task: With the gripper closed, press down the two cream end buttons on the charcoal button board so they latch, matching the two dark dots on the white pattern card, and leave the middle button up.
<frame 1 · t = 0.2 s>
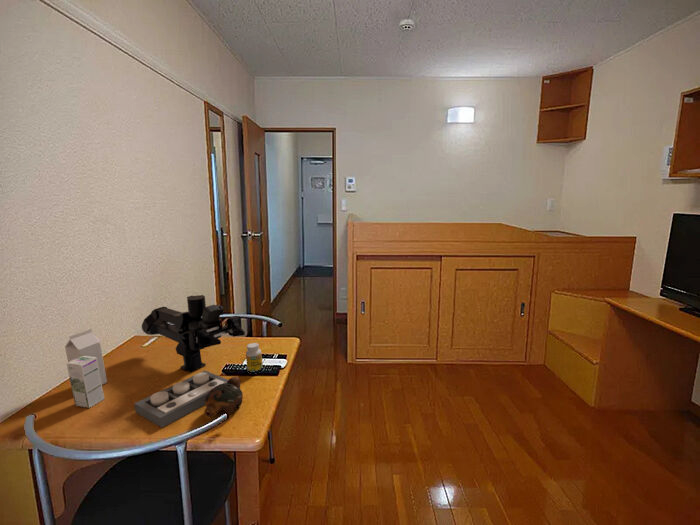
hand: (232, 337, 128), 17 cm above the table, tool horizontal, fingers open, 9 cm apart
decorative turtle: (225, 411, 118), on the table
board: (186, 400, 124), on the table
button a: (159, 398, 119), point 4 cm above the table, slide at 0.0 cm
supplement bottle: (255, 371, 142), on the table
syrup box: (90, 403, 125), on the table
milk carton: (90, 386, 135), on the table
button b: (181, 388, 124), point 3 cm above the table, slide at 0.0 cm
button c: (201, 379, 130), point 4 cm above the table, slide at 0.0 cm
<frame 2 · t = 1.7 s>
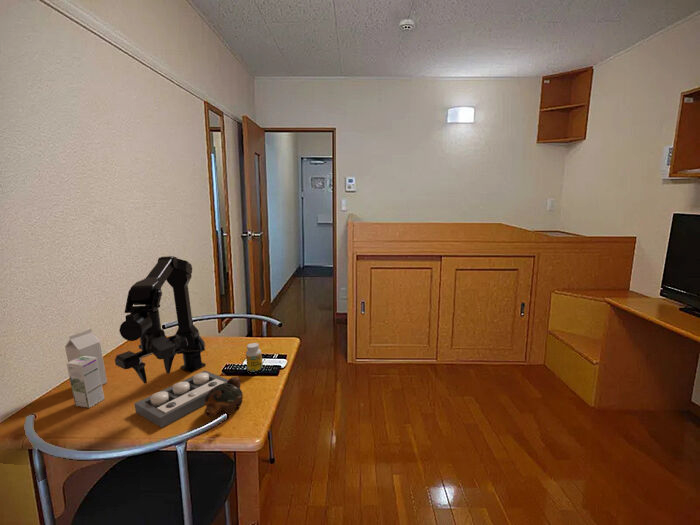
hand: (156, 378, 117), 10 cm above the table, tool pointing down, fingers open, 7 cm apart
nothing on the table moved.
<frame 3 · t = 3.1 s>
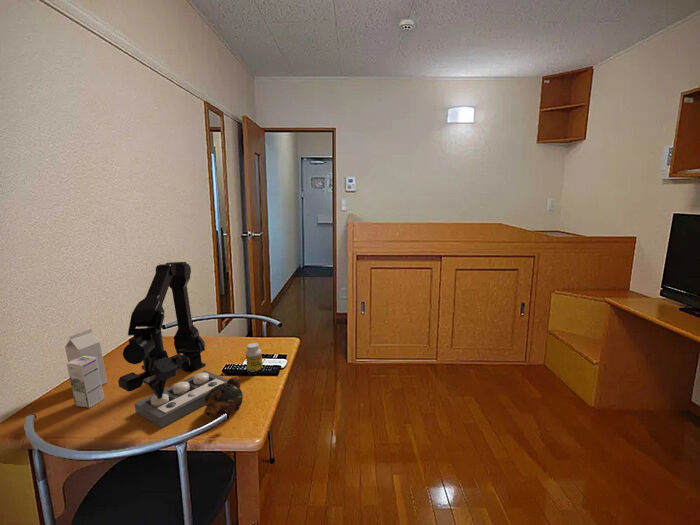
hand: (159, 398, 119), 4 cm above the table, tool pointing down, fingers closed, pressing on button a
button a: (160, 401, 119), point 3 cm above the table, slide at 0.8 cm, touching gripper
everything else where it was.
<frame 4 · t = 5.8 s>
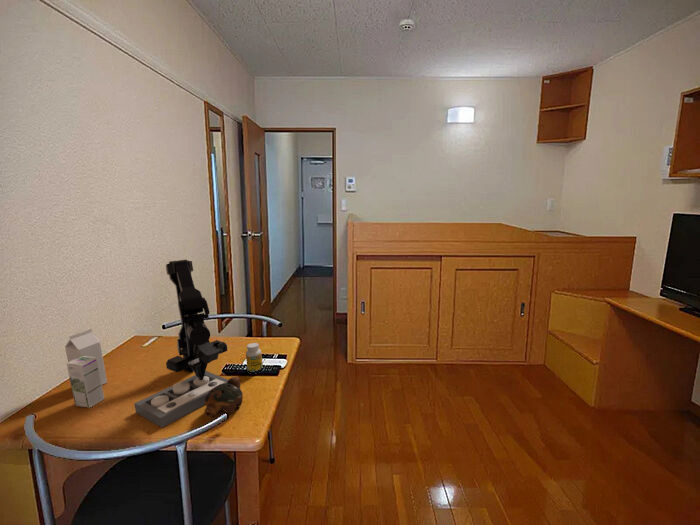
hand: (201, 379, 130), 3 cm above the table, tool pointing down, fingers closed, pressing on button c
button a: (160, 402, 119), point 2 cm above the table, slide at 1.3 cm
button c: (201, 382, 130), point 2 cm above the table, slide at 1.3 cm, touching gripper
everything else where it was.
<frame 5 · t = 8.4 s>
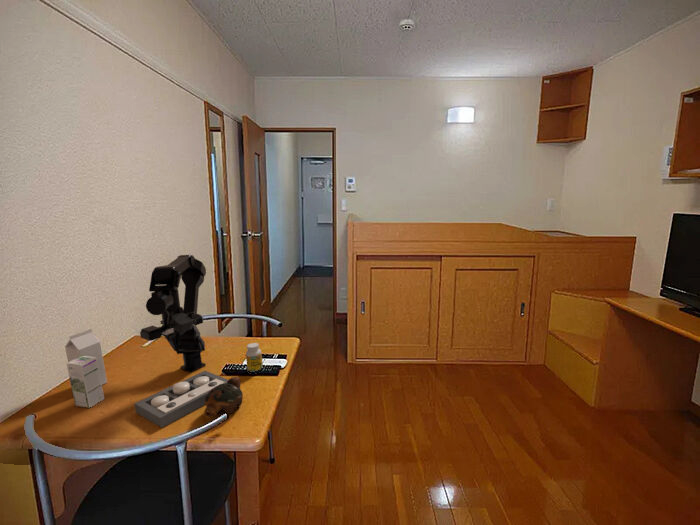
hand: (176, 350, 131), 12 cm above the table, tool pointing down, fingers closed
button c: (201, 382, 130), point 2 cm above the table, slide at 1.3 cm
everything else where it was.
at the end: button a slide at 1.3 cm; button c slide at 1.3 cm; button b slide at 0.0 cm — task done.
